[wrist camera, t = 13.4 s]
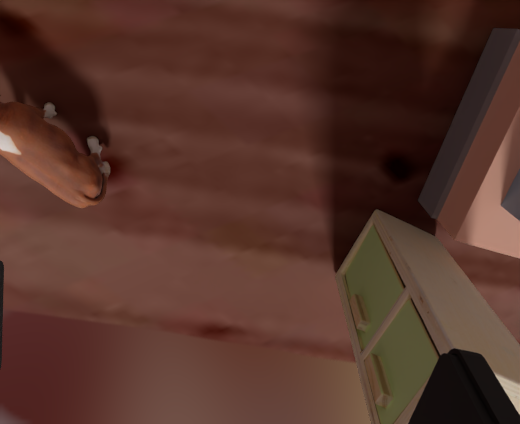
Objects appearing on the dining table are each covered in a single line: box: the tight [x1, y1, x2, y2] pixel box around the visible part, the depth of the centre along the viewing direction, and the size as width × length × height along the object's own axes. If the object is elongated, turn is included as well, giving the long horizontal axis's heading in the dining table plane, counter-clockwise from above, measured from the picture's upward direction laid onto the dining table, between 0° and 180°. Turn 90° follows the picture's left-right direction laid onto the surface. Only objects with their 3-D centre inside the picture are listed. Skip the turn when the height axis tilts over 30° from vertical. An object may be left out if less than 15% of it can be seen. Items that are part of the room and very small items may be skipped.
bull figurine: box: [0, 95, 110, 208], centre depth 37 cm, size 4×13×8 cm, turn 42°
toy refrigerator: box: [335, 209, 520, 424], centre depth 35 cm, size 8×7×21 cm
